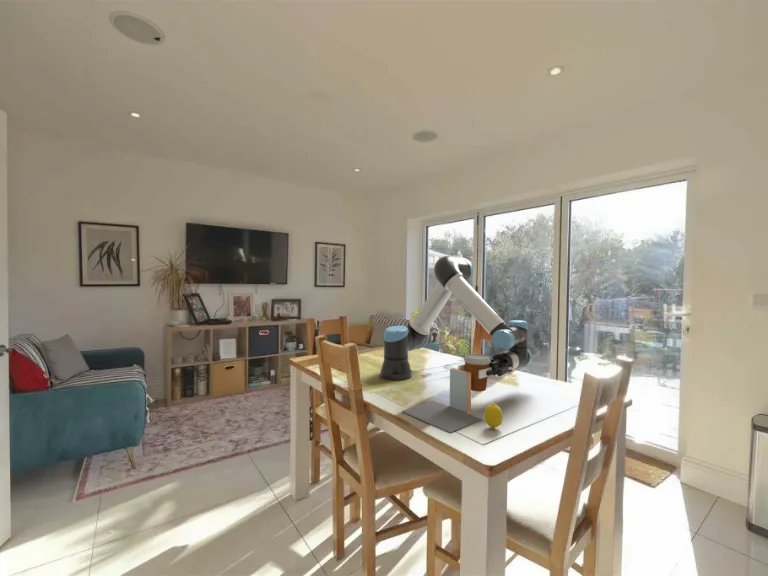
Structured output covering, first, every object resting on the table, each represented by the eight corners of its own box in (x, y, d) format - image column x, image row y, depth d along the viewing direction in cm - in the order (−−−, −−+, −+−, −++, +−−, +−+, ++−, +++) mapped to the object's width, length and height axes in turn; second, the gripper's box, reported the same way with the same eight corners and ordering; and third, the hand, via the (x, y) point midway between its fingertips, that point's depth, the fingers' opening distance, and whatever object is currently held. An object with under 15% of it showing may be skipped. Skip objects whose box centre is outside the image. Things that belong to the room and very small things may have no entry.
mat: (402, 411, 125) (402, 410, 125) (433, 401, 135) (433, 400, 135) (450, 433, 108) (450, 432, 108) (482, 420, 118) (482, 418, 118)
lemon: (498, 424, 114) (498, 400, 114) (505, 432, 109) (505, 406, 108) (481, 425, 114) (481, 400, 114) (487, 432, 108) (487, 406, 108)
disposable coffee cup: (494, 393, 125) (494, 359, 124) (467, 393, 125) (467, 359, 124) (486, 384, 134) (486, 353, 134) (460, 384, 134) (461, 353, 134)
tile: (449, 406, 130) (449, 368, 130) (453, 405, 131) (453, 367, 131) (466, 413, 124) (467, 373, 123) (470, 411, 125) (471, 372, 125)
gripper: (529, 377, 132) (494, 389, 118) (482, 366, 149) (446, 375, 134) (530, 357, 132) (494, 367, 118) (482, 348, 148) (446, 356, 134)
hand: (469, 371), depth 126 cm, fingers closed on disposable coffee cup, 8 cm apart
